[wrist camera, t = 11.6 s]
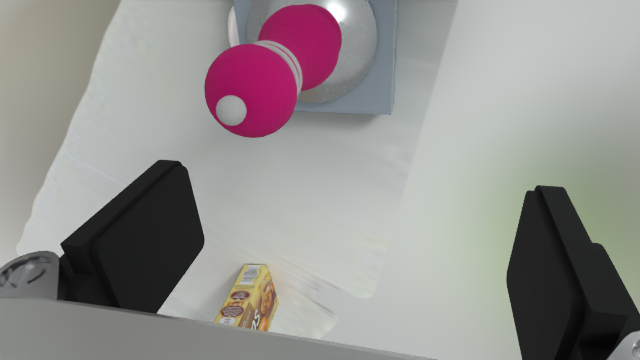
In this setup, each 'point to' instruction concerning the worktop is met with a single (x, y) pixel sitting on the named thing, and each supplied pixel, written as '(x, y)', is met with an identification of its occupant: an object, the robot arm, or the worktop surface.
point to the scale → (377, 83)
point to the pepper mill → (273, 70)
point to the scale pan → (356, 48)
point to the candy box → (250, 300)
